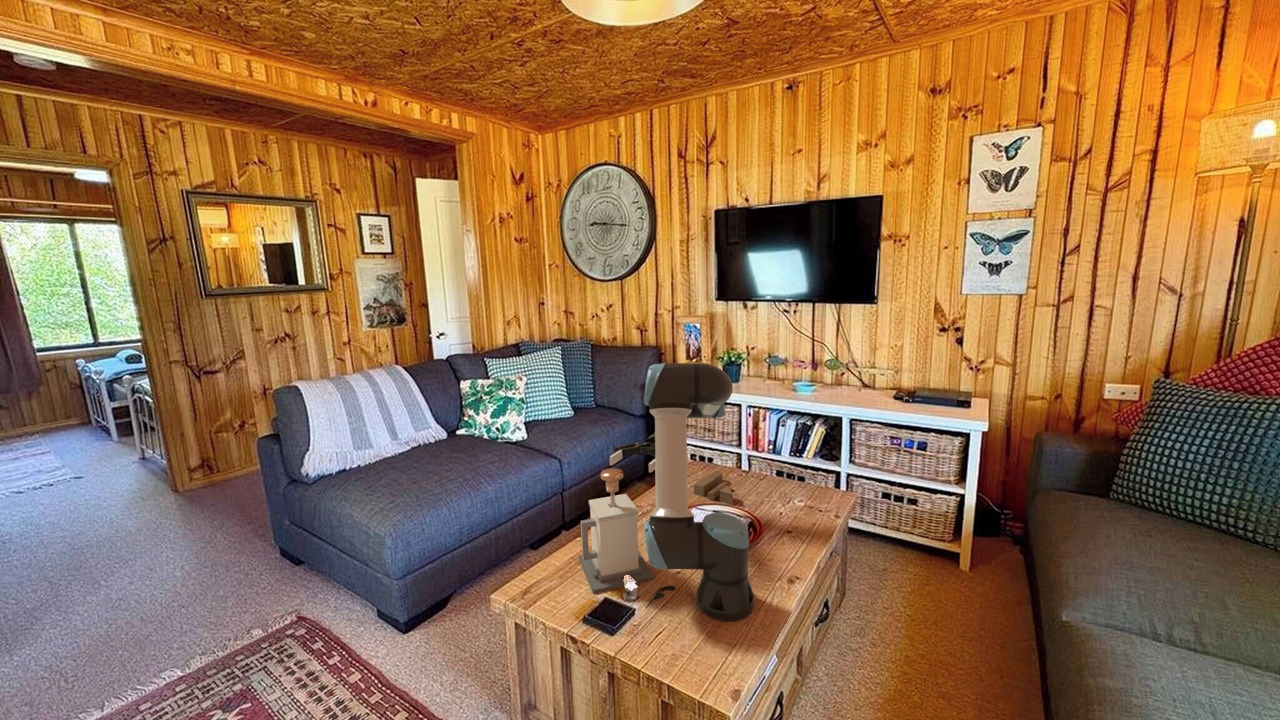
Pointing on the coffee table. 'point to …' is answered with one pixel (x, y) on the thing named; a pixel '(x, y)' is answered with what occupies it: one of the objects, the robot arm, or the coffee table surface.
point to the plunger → (612, 481)
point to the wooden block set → (714, 488)
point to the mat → (614, 583)
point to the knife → (661, 595)
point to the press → (612, 538)
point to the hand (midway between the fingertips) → (629, 464)
